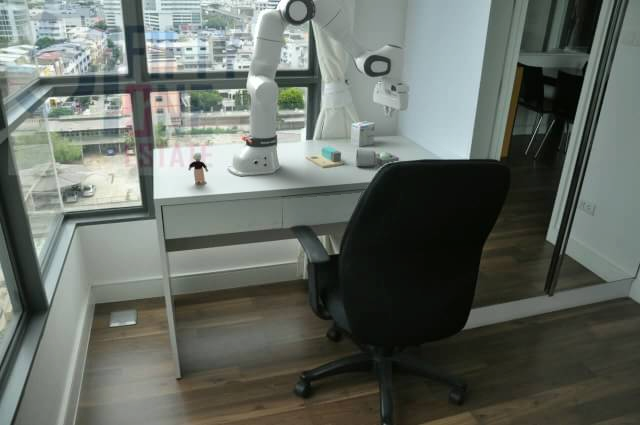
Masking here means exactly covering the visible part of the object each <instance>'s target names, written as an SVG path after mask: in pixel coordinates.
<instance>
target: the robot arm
mask: <svg viewBox="0 0 640 425" xmlns="http://www.w3.org/2000/svg"><path fill="white" fill-rule="evenodd" d="M310 20H311V21H313V22H314V23H315V24H316V25H317V26H318V27H319V29H320V30H322V32H323V33H325V34H326V36H328V37H329V38H330V39H332V40H334V41H335V42H337V43H338V44H340V45H341V46H342V47H343V49H344V50H345V51H346V52H347V53H348V54H349V55H350V56H351V58H352V60H353V62H354V66H355V69H356V70H357V71H358V72H359V73H361V74H364V75H366V76H368V77H370V78H378V77H381V78H380V81H377V82H376V83H375V86H374V90H373V96H372V100H373V101H372V102H374V104H375V103H376V104H379V105H383V110H384V116H385V117H386V118H387V117H388V118H392V117H393V113H394V111H395V110H397V111H406V110H407V108H408V106H409V96H410V95H409V92H410V85H408V84H406V83H405V81H403V74H402V73H403V69H404V60H405V58H404V57H405V55H404V53H405V52H404V49H403V48H402V47H401V46H399V45H395V44H389V43H388V44H386V45H384V46H383V47H381V48H380V49H377V50H376V51H373V50H370V49H368V48H366V47H364V46H363V45H362V43H360V41H359V40H358V38H356V37H355V35H354V34H353V33H352V30H351V20H350V18H349V17H348V15H347V14H346V12H345V11H344V10H343V8H342V7H340V5H339V4H338V3H337V2H336V1H335V0H279V1H278V3H277V4H276V6H275V7H274V8H266V9H263V10H262V11H261V12H260V13H259V16H258V19H257V22H256V26H255V30H254V31H255V33H254V39H253V45H252V46H253V48H252V55H251V60H250V65H249V69H248V75H247V79H246V80H247V81H246V90H247V93H248V94H249V95H250V108H249V109H250V111H249V117H248V118H249V121H248V122H249V134H248V136H246V135H244V134H242V136H241V140H242V141H245V144H244V145H243V146H241V147H240V149H238V150H237V151H236V152H235V153H234V154H233V156H232V163H229V164H227V170H228V171H229V172H230V173H231V174H233V175H235V176H239V177H243V176H255V175H267V174H268V175H270V174H275V173H276V171H277V170H279V169H280V168H281V165H280V161H279V155H278V150H277V147H278V135H277V113H278V104H279V97H280V96H279V95H280V90H279V86H278V83H277V82H276V81H275V78H276V73H277V70H278V67H279V64H280V62H281V56H282V55H281V54H282V48H283V41H284V40H283V39H284V34H285V30H286V28H287V27H288V26H289V25H290V26H296V27H297V26H301V25H304V24H305V23H307V22H309V21H310Z"/></svg>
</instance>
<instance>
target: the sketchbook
mask: <svg viewBox="0 0 640 425" xmlns="http://www.w3.org/2000/svg"><path fill="white" fill-rule="evenodd" d="M305 159H307V160H308V161H310V162H311V163H312V164H315V165H316V166H318V167H320V168H322V169H325V168H330V167H337V166H343V165H345V162H343V161H342V160H341V161H336V162H333V161H330V160H328V159H327V158H325V157H323V156H322V153H319V154H313V155H305Z"/></svg>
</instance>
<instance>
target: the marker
mask: <svg viewBox="0 0 640 425" xmlns="http://www.w3.org/2000/svg"><path fill="white" fill-rule="evenodd" d="M321 154H322V156H323V157H325V158H327V159H328V160H330V161H333V162H336V161H342V158H341V157H342V153H341V151H339V150H337V149H335V148H334V147H331V146H330V145H329V146H323V147H321Z"/></svg>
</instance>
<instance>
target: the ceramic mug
mask: <svg viewBox="0 0 640 425" xmlns="http://www.w3.org/2000/svg"><path fill="white" fill-rule="evenodd" d="M376 154H377V153H376V151H375V150H371V149H364V148H363V149H362V148H357V150H356V156H355V166H356V167H369V168H370V167H374V166H375V164H376V163H375V160H376Z"/></svg>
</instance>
